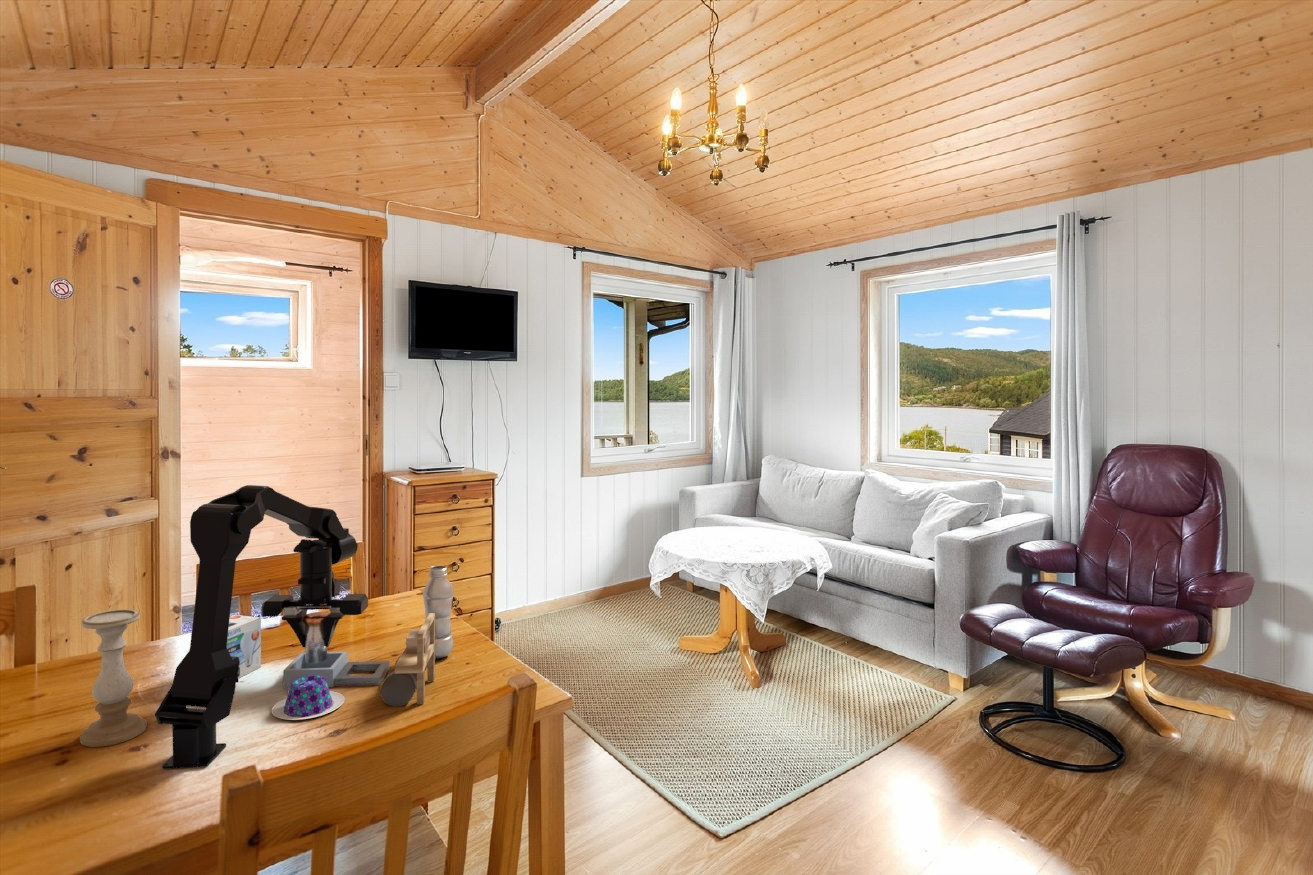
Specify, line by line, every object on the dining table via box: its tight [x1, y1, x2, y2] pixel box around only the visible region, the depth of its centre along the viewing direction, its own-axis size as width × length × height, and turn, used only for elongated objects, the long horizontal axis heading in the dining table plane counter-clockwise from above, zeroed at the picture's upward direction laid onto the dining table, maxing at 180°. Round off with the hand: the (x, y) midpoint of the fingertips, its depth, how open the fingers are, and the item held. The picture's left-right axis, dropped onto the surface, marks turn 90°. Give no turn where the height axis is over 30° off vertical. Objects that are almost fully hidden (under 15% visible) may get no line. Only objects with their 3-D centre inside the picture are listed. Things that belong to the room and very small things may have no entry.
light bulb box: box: [227, 614, 262, 679], centre depth 139 cm, size 11×7×11 cm, turn 169°
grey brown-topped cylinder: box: [303, 611, 330, 663], centre depth 138 cm, size 5×5×9 cm
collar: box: [333, 660, 391, 687], centre depth 140 cm, size 8×8×2 cm
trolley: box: [379, 613, 436, 707], centre depth 133 cm, size 12×8×14 cm, turn 8°
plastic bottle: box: [422, 565, 454, 660], centre depth 151 cm, size 6×7×20 cm
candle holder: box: [79, 608, 148, 748], centre depth 114 cm, size 9×9×20 cm
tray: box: [282, 651, 349, 690], centre depth 138 cm, size 9×9×4 cm
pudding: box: [271, 675, 345, 721], centre depth 126 cm, size 12×12×5 cm
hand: (316, 646), depth 138 cm, fingers closed on grey brown-topped cylinder, 4 cm apart
